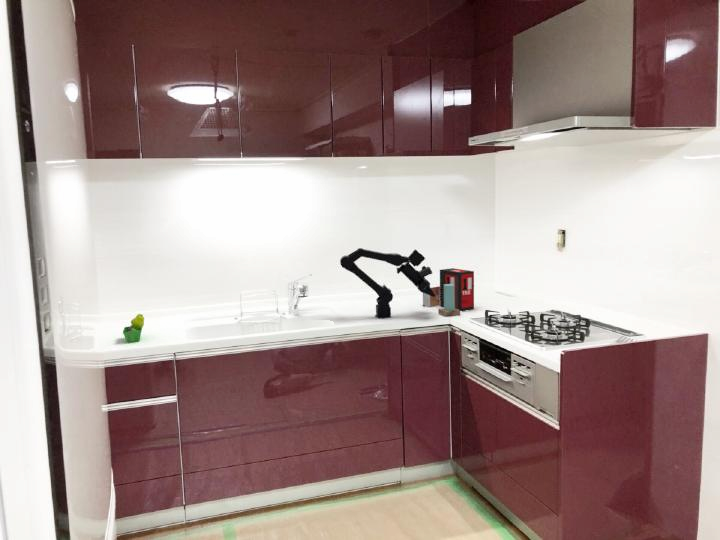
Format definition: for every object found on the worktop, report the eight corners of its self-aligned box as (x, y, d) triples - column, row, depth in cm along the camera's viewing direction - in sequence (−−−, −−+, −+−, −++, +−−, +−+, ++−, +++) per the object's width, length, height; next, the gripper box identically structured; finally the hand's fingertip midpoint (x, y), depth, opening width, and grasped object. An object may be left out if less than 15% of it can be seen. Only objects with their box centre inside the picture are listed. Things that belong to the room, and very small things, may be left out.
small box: (430, 307, 313) (429, 287, 312) (422, 305, 318) (422, 286, 316) (440, 305, 318) (440, 286, 317) (432, 303, 323) (432, 285, 321)
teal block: (445, 310, 291) (445, 285, 290) (443, 308, 296) (443, 284, 294) (454, 310, 291) (454, 285, 290) (452, 308, 296) (452, 284, 294)
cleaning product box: (440, 306, 314) (439, 269, 312) (452, 304, 319) (452, 268, 316) (460, 311, 300) (460, 272, 298) (473, 309, 305) (473, 271, 302)
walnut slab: (445, 316, 289) (445, 311, 289) (438, 313, 296) (438, 308, 296) (460, 315, 291) (460, 310, 291) (452, 312, 299) (452, 307, 299)
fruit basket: (125, 337, 264) (123, 313, 262) (146, 335, 267) (144, 311, 265) (123, 343, 253) (121, 318, 252) (145, 341, 256) (143, 316, 254)
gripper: (425, 263, 281) (448, 286, 282) (419, 259, 299) (441, 280, 301) (409, 280, 281) (431, 302, 283) (404, 275, 300) (426, 295, 302)
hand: (433, 294), depth 292 cm, fingers open, 9 cm apart
